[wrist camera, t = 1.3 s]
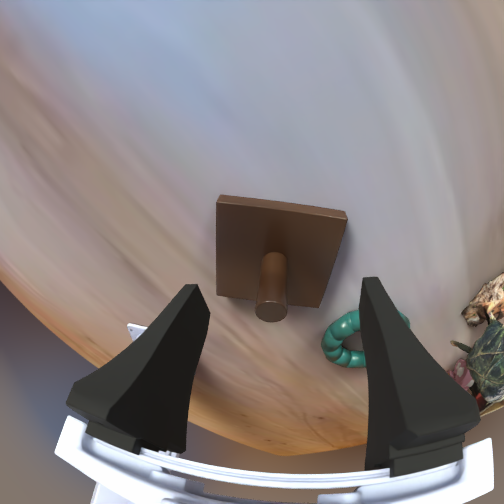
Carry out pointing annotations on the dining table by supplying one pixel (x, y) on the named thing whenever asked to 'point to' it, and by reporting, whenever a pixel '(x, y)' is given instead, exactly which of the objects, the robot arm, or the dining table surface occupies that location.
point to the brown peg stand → (275, 252)
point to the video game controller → (462, 375)
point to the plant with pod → (487, 340)
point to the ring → (338, 334)
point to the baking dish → (484, 401)
